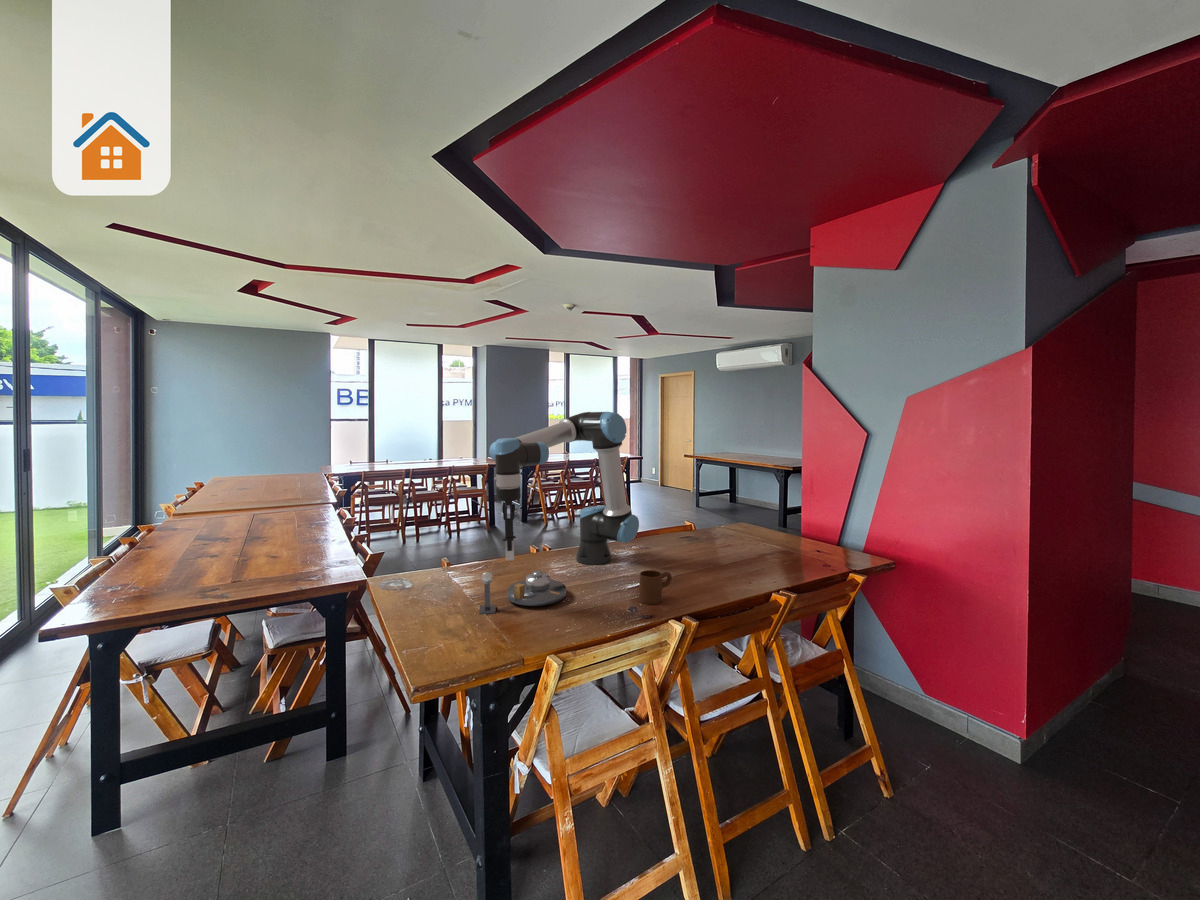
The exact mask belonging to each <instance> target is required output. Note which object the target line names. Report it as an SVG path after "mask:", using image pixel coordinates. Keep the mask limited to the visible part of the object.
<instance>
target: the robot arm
mask: <svg viewBox="0 0 1200 900" xmlns="http://www.w3.org/2000/svg"><path fill="white" fill-rule="evenodd" d="M627 431H628V429H627V425H626V422H625V419H624V418H623V416H622V415H620V414H619V413H617V412H611V411H586V412H581V413H577V414H574V415H571V416H568V417H566V418H562V419H560V421H559V422H558V423H555V424H552V425H549V426H546V427H543V428H541V429H537V430H534V431H532V432H528V433H525V434H522V435H519V436H517V437H506V438H505V437H504V438H497V439H496V440H495V441H494V442H493V443H491V444H490V447H489V450H488V451H489V456H490V458H491V459H492V460H493V462H495V477H493V480H495V481H496V482H495V484H496V485H495V486H496V487H497V488H496V489H495V491H496V492H495V493H496V494H495V495H496V496H495V497H496V500H497V501H500V502H504V504H502V506H501V507H502V513H503V514H502V515H503V517H502V518H503V521H504V538H503V539H502V541H503V542H504V549H505V550H504V551H505V561H515V539H516V538H517V537H516V535H514V520H515V511H516V504H515V503H514V504H513V502H514V501H518V500H520V499H521V487H520V486H521V468H523V467H530V466H540V465H543V464H545V463H546V462H547V461H548V460H549V456H550V450H549V448H552V447H555V446H557V445H559V444H562V443H572V442H577V441H578V442H579V441H583V442H584V441H585V442H586V441H587V442H592V443H591V444H592V449H593V450H594V451H596V452H597V456H598V463H599V468H600V469H599V470H600V477H601V483H602V489H603V490H602V491H603V497H604V503H605V505H594V506H593V505H591V506H587V507H586V506H585V507H583V508H582V509H580V515H579V531H580V534H579V535H580V537H579V545H578V548H577V551H576V554H575V559H576V562H577V563H580V564H583V565H588V566H591V565H593V566H595V565H596V566H597V565H604V564H607V563H610V562H611V561H612V553H611V549H610V546H609V544H608V540H609V541H615V542H618V543H626V544H627V543H630V542H632V541H633V540H634V539H635V538H636V536H637V534H638V532H639V528H640V520H639V518H638V516H636V515H635V514H633V512H632V508H631V506H630V505H628V503H627V497H626V488H625V483H624V475H623V468H622V467H623V466H622V461H621V454H620V448H621V447H622V445H623V441H624V440H625V438H626V434H627Z"/></svg>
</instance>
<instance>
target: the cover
mask: <svg viewBox="0 0 1200 900" xmlns="http://www.w3.org/2000/svg"><path fill="white" fill-rule="evenodd" d="M549 579H550V575H549V574H548V573H545V572H543V571H542V570H534V571H533V572H532V573H528V574H527V575H525V580H526V590H528V591H531V592H542V591H546V590H548V589H549Z"/></svg>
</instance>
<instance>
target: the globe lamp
mask: <svg viewBox="0 0 1200 900" xmlns="http://www.w3.org/2000/svg"><path fill="white" fill-rule="evenodd" d="M493 575H494V574H492V572H490V571H484V572H483V573H482V574H481V576H480V580H481V582H482V583H483V585H484V604H482V605H479V610H478V615H483V614H484V615H485V614H488V615H489V614H496V610H497V605H496V604H491V583H492V582H493V579H494V576H493Z"/></svg>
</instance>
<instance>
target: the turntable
mask: <svg viewBox="0 0 1200 900" xmlns="http://www.w3.org/2000/svg"><path fill="white" fill-rule="evenodd" d="M566 596H567V586H566V585H565V584H564V583H563V582H561V581H559V580H555V579H550V578H549V589H548V590H546V591H542V592H531V591H528V590H526V579H524V580H520V581H517V582H514V583H512V584H510V585H509V586H508V588H507V590H506V598H507V600H508V601H509V602H511V603H513V604H515V605H520V606H527V607H538V606H539V607H540V606H546V605H551V604H555V603H558V602H561V600H563V599H564V598H565V597H566Z"/></svg>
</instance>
